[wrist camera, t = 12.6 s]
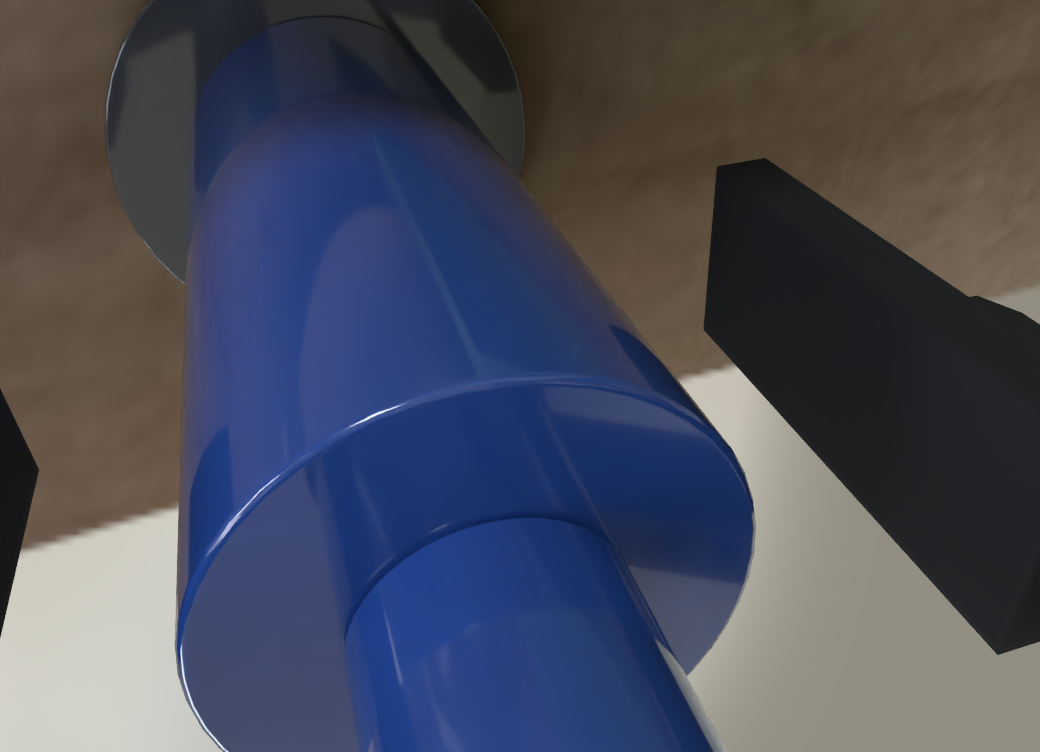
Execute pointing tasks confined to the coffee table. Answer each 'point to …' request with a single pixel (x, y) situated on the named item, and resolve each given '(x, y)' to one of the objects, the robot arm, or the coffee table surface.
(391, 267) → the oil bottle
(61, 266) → the coffee table surface
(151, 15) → the coaster
